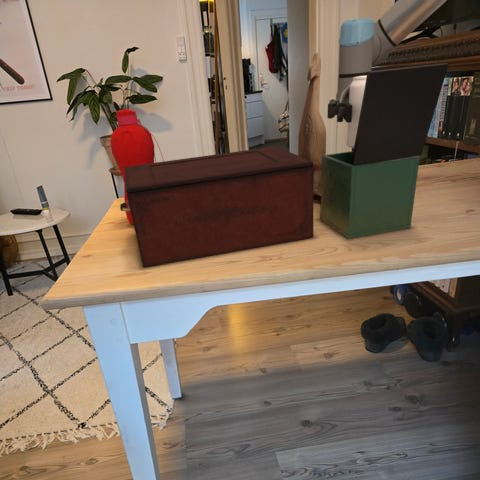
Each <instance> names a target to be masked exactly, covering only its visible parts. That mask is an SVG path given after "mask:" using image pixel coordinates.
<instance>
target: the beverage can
mask: <svg viewBox="0 0 480 480" xmlns="http://www.w3.org/2000/svg"><path fill="white" fill-rule="evenodd" d="M366 78H367V76H358V77H353V81H352V83H351V85H350V93H349V103H350V104H351V105H352V120H351V122H349V123H347V135H346V136H347V137H346V146H347V147H349V148H351V149H352V150H354V145H355V140H356V134H357V128H358V123H359V117H360V111H361V106H362V100H363V95H364V89H365V83H366Z"/></svg>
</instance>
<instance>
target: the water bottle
mask: <svg viewBox="0 0 480 480" xmlns="http://www.w3.org/2000/svg"><path fill="white" fill-rule="evenodd" d="M115 114H116V115H115V116H114V118H116V120H117V123H118V126H116V127H115V129H114V130H113V132H112V133H111V136H110V142H109V143H110V148H111V149H110V150H111V154H112V156H113V159H114V160H115V162H116V165H117V167H118V169H119V171H120V175H121V176H122V179H123V186H124V187H123V188H124V189H123V190H124V191H123V193H124V194H123V195H124V197H123V198H124V202H127V201H128V198H127V192H126V186H125V167H127V166H134V165H142V164H149V163H155V162H157V158H156V153H155V143H156V145H157V147H158V150H159V153H160V155H161V158H162V162H164V161H165V160H164V157H163V154H162V151H161V148H160V146H159V143H158V142H157V139H156V137H155V136H154V135H153V134H152V133H151V132H150V130H149V128H147V127H145V126H144V125H142V124H141V119H140V118H138V116H137V111H136V110H133V109H130V108H124V109H119V110H117V111H115ZM153 138H154V139H153ZM154 140H155V143H154ZM126 207H127V208H129V204H128V205H126ZM125 216H126V219H127V221H128V223H129V224H130V225H132V226H134V225H133V220H132V216H131V211H125Z"/></svg>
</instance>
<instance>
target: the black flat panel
mask: <svg viewBox="0 0 480 480" xmlns="http://www.w3.org/2000/svg"><path fill="white" fill-rule="evenodd" d="M449 65H450V64H449V63H447V62H443V63H435V64H433V63H432V64H424V65H423V64H422V65H415V66H414V65H413V66H404V67H397V68H395V67H394V68H387V69H378V70H377V69H376V70H371V71H368V72H367V78H366V83H365V89H364V95H363V100H362V106H361V111H360V117H359V123H358V128H357V134H356V140H355V145H354V149H353V150H352V151H353V156H352V162H351V163H352V164H353V165H357V164H364V163H371V162H377V161H384V160H391V159H398V158H405V157H412V156H418V157H419V156H422V155H423V152H424V148H425V144H426V141H427V138H428V135H429V131H430V128H431V125H432V121H433V118H434V115H435V111H436V108H437V105H438V101H439V98H440V95H441V92H442V88H443V85H444V82H445V79H446V76H447V72H448V70H449V69H448V68H449Z"/></svg>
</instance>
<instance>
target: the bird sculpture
mask: <svg viewBox="0 0 480 480" xmlns="http://www.w3.org/2000/svg"><path fill="white" fill-rule="evenodd" d="M321 71H322V59H321V56H320V54H319V53H318V52H315V53H314V54H313V57H312V59H311V62H310V65H309V68H308V72H307V77H306V80H307V81H309V84H308V87H307V93H306V96H305V97H306V98H305V102H304V106H303V111H302V116H301V119H300V120H301V121H300V126H299V131H298V139H297V141H298V143H297V146H298V147H297V156H300V157H302V158H304V159H306V160H309V161H311V162H313V168H314V194H316V195H318V196H319V197H320V198H321V171H322V155H327V130H326V125H325V122H324V120H323V117H322V115H321V113H320V83H321Z"/></svg>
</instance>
